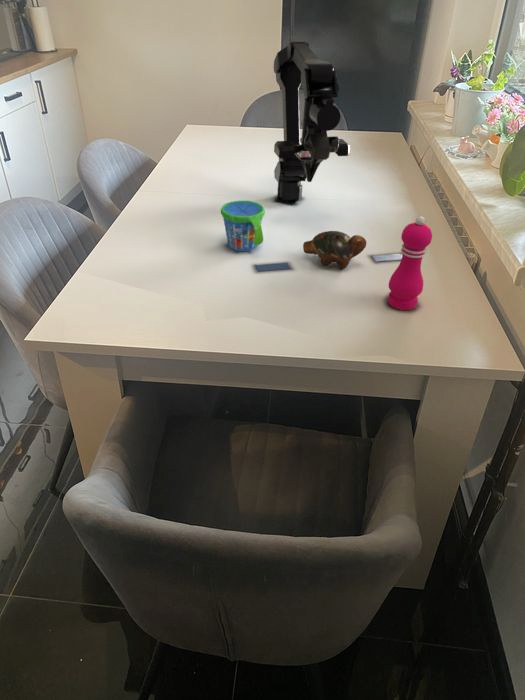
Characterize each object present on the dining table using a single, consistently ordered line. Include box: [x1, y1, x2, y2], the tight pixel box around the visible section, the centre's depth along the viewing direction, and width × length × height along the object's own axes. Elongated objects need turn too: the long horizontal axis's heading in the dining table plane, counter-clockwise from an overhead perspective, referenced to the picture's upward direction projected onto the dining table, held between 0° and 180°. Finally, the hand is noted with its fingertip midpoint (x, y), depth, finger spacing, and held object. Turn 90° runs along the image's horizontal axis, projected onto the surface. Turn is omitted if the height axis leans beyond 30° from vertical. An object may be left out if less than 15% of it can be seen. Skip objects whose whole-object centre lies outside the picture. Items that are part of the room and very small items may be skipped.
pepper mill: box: [387, 215, 433, 311], centre depth 113 cm, size 7×7×20 cm
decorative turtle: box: [302, 230, 367, 270], centre depth 131 cm, size 10×15×8 cm, turn 80°
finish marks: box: [255, 253, 402, 273], centre depth 133 cm, size 3×38×1 cm, turn 103°
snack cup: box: [220, 200, 266, 252], centre depth 136 cm, size 16×10×10 cm
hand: (309, 181), depth 144 cm, fingers closed
